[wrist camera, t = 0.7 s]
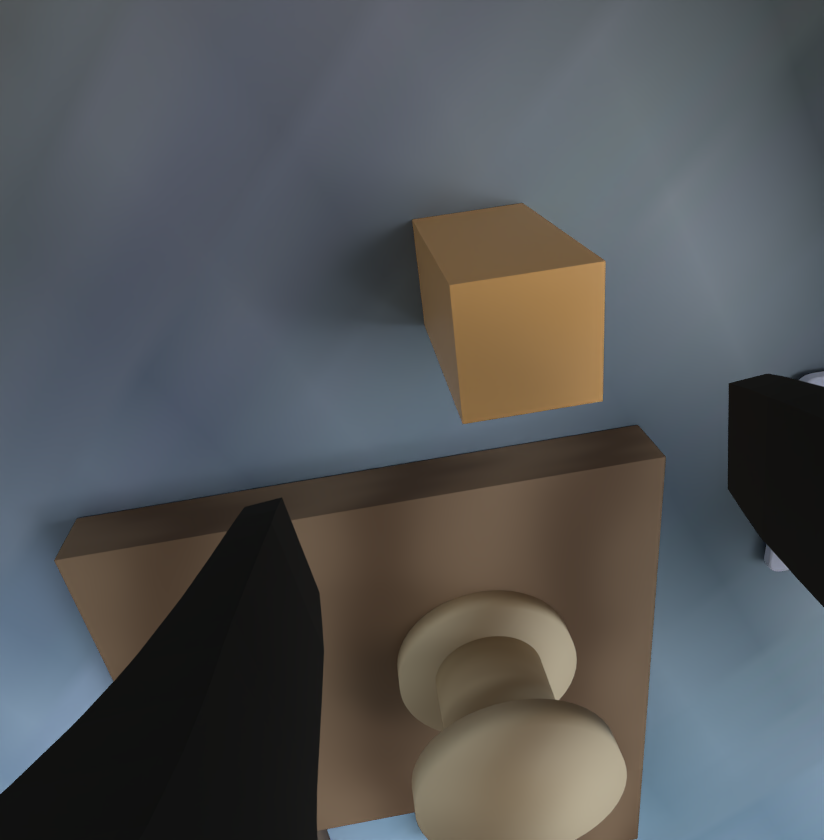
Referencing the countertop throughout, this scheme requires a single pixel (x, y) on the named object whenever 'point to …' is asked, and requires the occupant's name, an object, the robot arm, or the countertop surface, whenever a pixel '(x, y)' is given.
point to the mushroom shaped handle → (504, 724)
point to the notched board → (419, 588)
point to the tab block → (511, 311)
